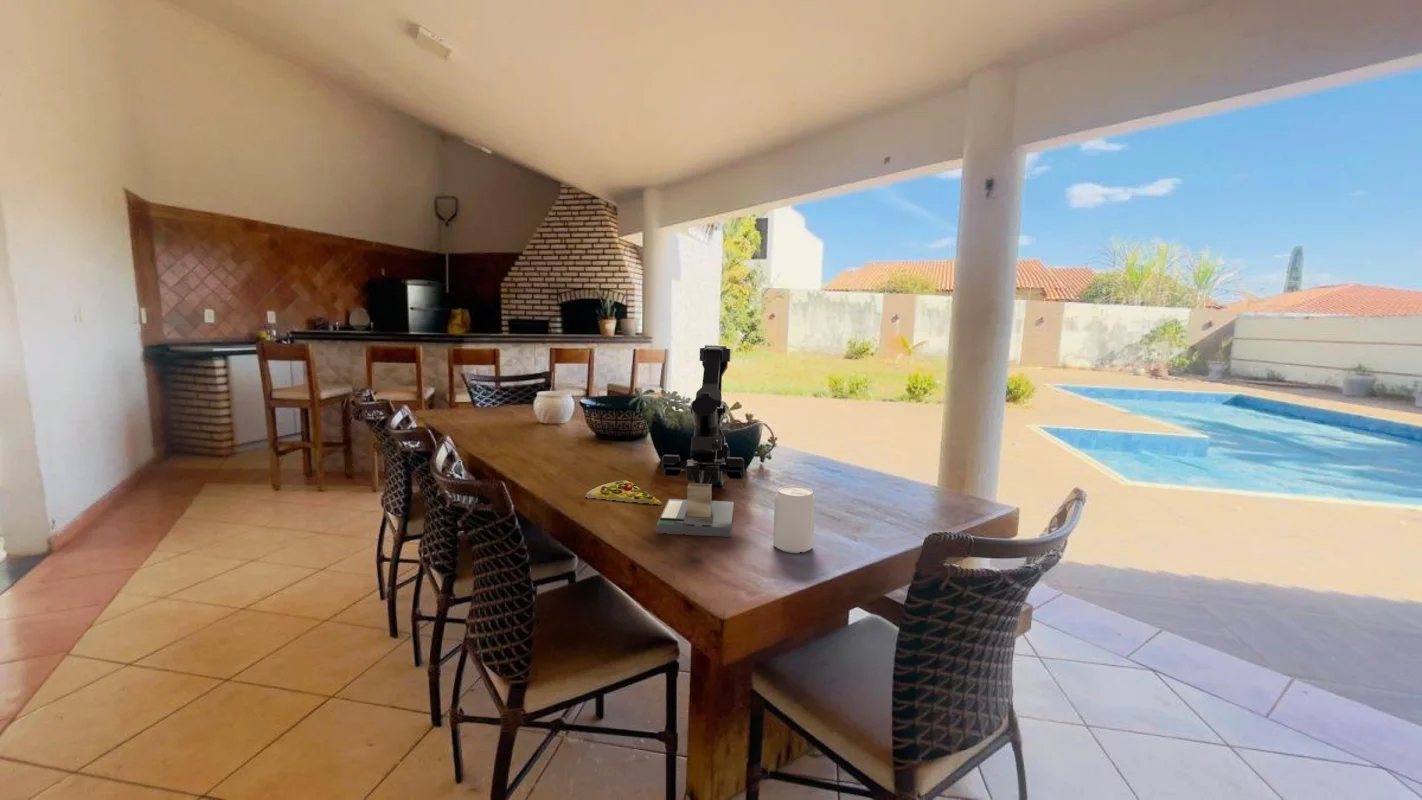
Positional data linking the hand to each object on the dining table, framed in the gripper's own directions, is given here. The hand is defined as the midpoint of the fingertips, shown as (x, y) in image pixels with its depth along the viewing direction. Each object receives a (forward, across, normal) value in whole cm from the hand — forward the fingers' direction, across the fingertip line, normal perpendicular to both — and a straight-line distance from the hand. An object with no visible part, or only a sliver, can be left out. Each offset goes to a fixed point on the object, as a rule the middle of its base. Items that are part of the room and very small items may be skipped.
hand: (700, 500), depth 126 cm
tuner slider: (+4, -3, +2) cm, 5 cm away
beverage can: (+10, +20, -1) cm, 22 cm away
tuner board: (+1, -1, +8) cm, 9 cm away
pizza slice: (-9, -20, +20) cm, 30 cm away
